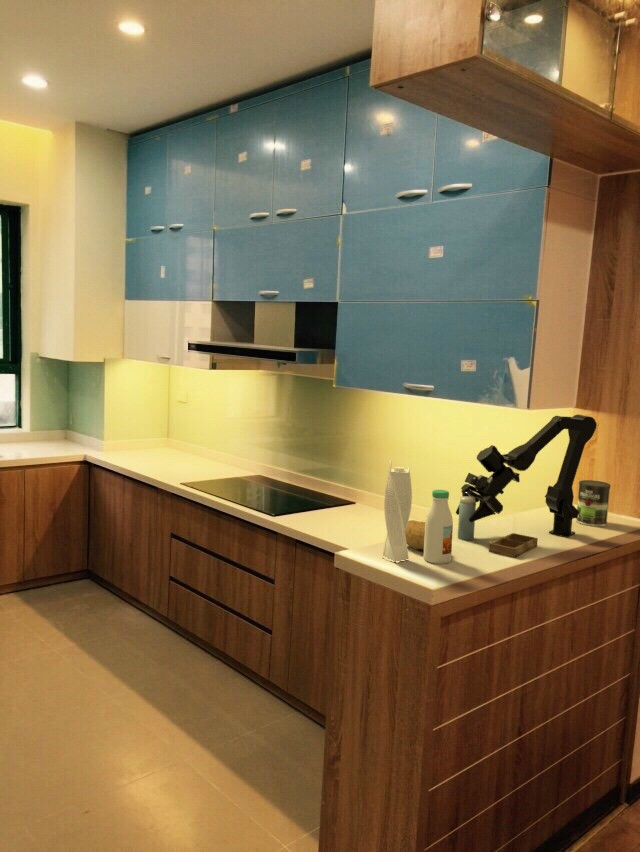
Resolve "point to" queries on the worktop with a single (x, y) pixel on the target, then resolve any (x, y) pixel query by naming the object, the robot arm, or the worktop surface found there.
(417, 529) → the potato
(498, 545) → the caddy
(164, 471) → the worktop surface
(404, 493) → the skyscraper
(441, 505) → the milk bottle
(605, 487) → the coffee can
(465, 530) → the salt shaker
